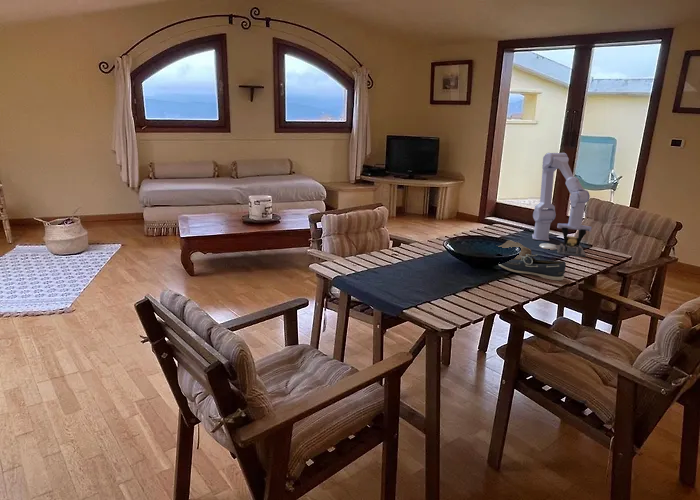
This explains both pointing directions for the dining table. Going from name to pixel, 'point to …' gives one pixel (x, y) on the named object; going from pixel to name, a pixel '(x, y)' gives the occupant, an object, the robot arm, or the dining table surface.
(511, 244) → the artifact
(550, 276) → the boat shoe
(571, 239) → the cap
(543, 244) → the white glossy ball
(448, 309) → the dining table surface
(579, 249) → the post base
